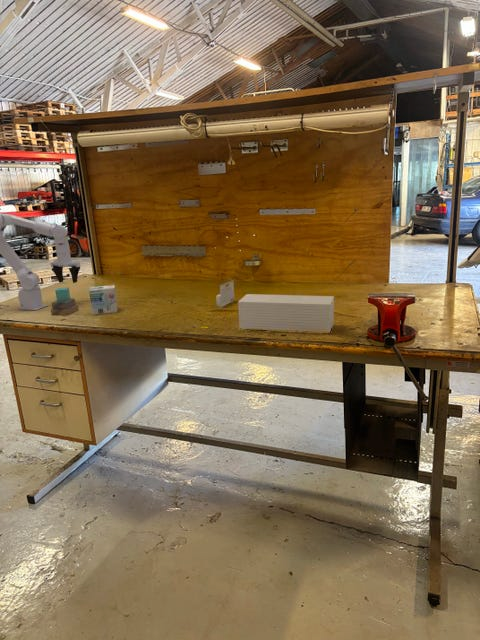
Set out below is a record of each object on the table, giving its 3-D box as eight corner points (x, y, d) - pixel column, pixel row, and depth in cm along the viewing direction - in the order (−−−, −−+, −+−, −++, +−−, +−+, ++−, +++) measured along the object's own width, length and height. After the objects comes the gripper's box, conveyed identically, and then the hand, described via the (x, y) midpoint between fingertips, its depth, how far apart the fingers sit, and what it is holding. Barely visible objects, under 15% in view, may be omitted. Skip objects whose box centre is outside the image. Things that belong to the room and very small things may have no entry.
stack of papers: (239, 330, 161) (238, 301, 158) (248, 321, 171) (246, 294, 168) (330, 335, 152) (330, 304, 149) (333, 325, 161) (334, 296, 158)
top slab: (52, 309, 193) (51, 302, 192) (60, 305, 199) (59, 298, 198) (68, 309, 192) (67, 302, 191) (75, 304, 199) (74, 298, 198)
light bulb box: (92, 315, 190) (88, 290, 187) (92, 311, 197) (89, 287, 193) (118, 312, 193) (114, 287, 190) (117, 308, 199) (114, 284, 196)
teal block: (57, 301, 193) (55, 290, 192) (59, 299, 198) (57, 288, 196) (68, 300, 194) (66, 289, 192) (70, 298, 198) (68, 287, 197)
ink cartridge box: (216, 307, 192) (215, 284, 190) (230, 300, 201) (229, 279, 199) (221, 307, 191) (220, 285, 188) (235, 301, 200) (233, 279, 197)
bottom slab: (51, 316, 194) (50, 309, 193) (63, 311, 201) (62, 304, 200) (67, 316, 192) (66, 310, 191) (78, 311, 199) (77, 304, 198)
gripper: (82, 251, 204) (86, 280, 208) (55, 251, 209) (60, 280, 213) (72, 253, 198) (77, 284, 202) (45, 253, 202) (50, 283, 206)
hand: (68, 282), depth 207 cm, fingers open, 7 cm apart
